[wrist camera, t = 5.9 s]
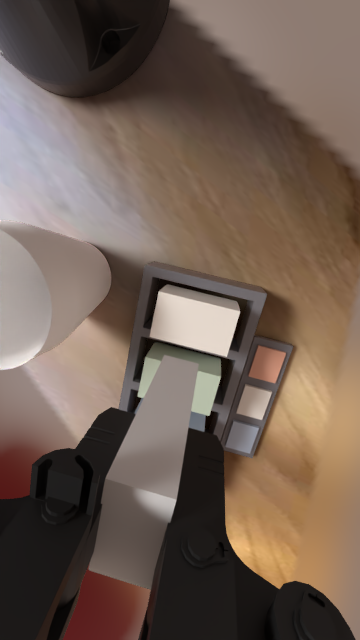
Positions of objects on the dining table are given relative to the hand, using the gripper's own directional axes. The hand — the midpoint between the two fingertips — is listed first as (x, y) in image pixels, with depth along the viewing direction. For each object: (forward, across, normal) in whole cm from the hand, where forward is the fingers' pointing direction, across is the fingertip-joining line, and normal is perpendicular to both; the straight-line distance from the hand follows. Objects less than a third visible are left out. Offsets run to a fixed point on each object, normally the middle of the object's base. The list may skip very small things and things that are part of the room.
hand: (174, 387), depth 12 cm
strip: (+15, +8, -8) cm, 19 cm away
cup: (+16, -12, 0) cm, 20 cm away
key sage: (+13, 0, -5) cm, 14 cm away
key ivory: (+13, 0, 0) cm, 13 cm away
